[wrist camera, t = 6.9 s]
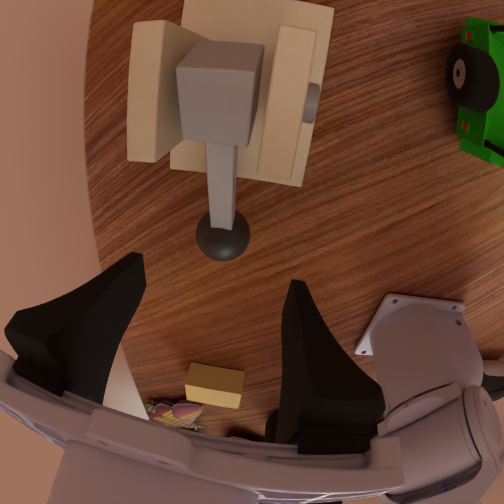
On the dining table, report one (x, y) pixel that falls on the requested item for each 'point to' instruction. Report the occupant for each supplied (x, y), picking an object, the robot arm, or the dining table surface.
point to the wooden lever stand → (271, 86)
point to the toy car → (479, 89)
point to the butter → (214, 385)
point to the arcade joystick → (220, 131)
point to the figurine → (493, 378)
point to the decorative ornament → (175, 413)
